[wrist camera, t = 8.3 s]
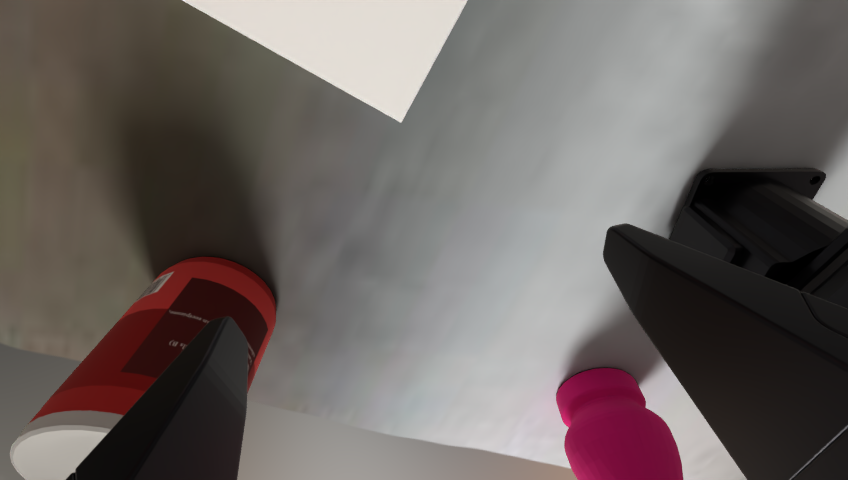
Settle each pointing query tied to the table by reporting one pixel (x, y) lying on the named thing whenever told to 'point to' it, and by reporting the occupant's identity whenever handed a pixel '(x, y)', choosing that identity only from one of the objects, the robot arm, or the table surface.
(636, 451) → the pepper mill
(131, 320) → the canned food
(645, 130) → the table surface
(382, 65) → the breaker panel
